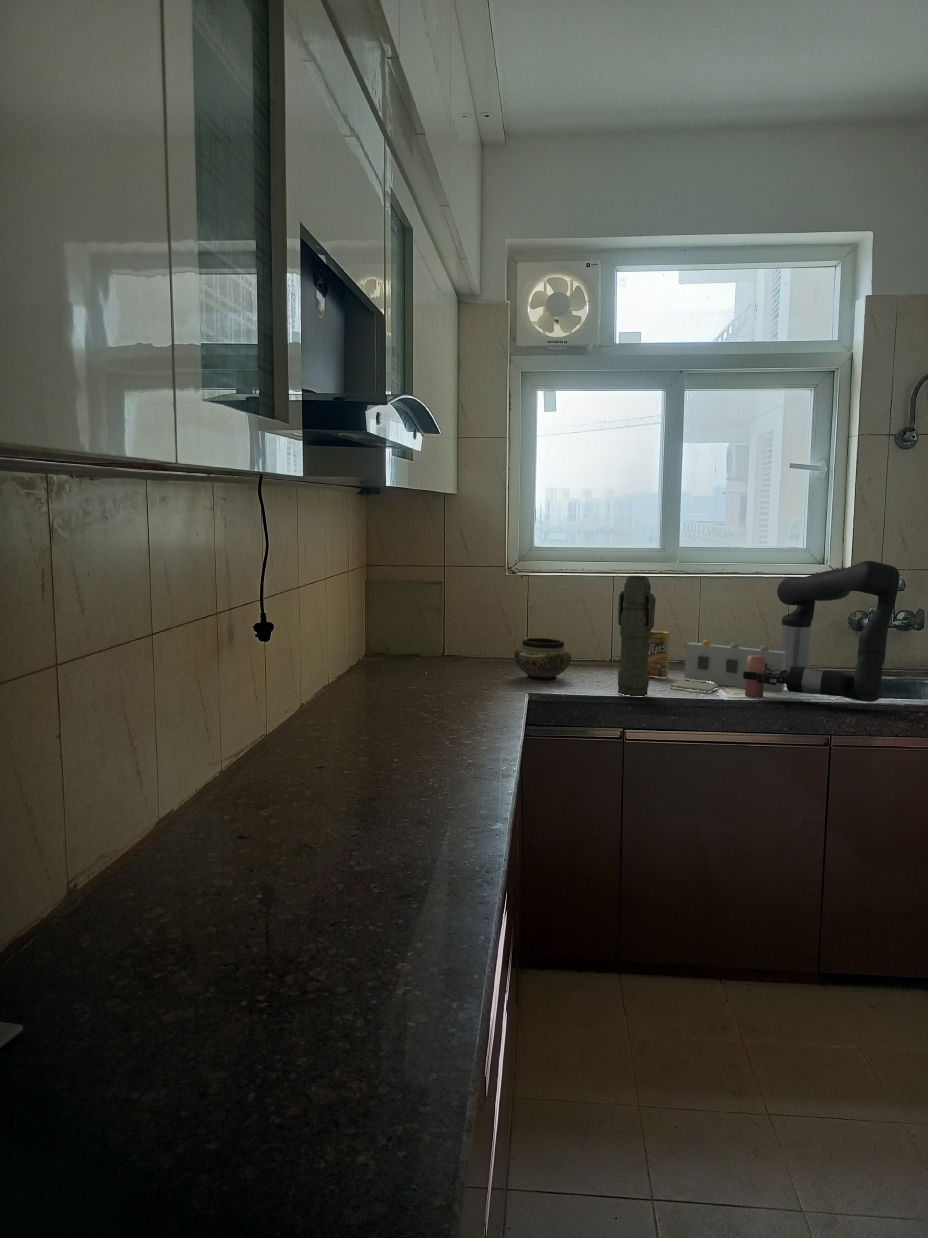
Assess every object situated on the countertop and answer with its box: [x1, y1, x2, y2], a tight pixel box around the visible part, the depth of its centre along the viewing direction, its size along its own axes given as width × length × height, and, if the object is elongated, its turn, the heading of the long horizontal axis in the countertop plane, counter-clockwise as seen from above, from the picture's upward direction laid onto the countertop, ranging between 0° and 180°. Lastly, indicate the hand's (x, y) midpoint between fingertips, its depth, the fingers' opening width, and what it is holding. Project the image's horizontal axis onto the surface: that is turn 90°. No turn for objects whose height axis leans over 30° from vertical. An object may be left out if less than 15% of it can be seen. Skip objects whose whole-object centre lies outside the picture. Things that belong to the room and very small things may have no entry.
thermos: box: [617, 575, 657, 697], centre depth 254 cm, size 9×12×35 cm
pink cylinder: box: [744, 655, 765, 698], centre depth 256 cm, size 5×5×12 cm
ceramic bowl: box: [513, 636, 572, 683], centre depth 275 cm, size 24×18×15 cm
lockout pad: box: [669, 679, 720, 692], centre depth 266 cm, size 10×12×1 cm
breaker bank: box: [684, 639, 786, 693], centre depth 272 cm, size 6×30×14 cm, turn 57°
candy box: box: [648, 630, 671, 678], centre depth 283 cm, size 9×4×15 cm, turn 70°
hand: (746, 673), depth 257 cm, fingers closed on pink cylinder, 5 cm apart
